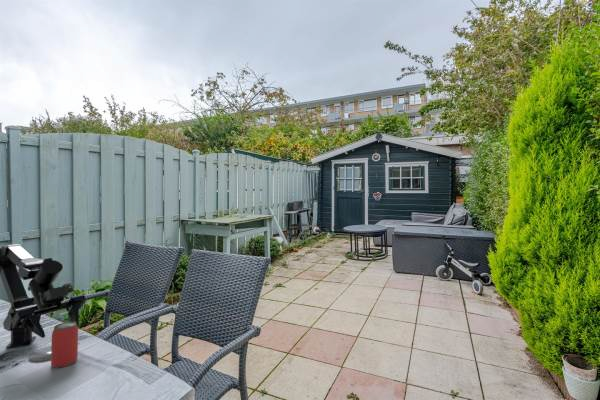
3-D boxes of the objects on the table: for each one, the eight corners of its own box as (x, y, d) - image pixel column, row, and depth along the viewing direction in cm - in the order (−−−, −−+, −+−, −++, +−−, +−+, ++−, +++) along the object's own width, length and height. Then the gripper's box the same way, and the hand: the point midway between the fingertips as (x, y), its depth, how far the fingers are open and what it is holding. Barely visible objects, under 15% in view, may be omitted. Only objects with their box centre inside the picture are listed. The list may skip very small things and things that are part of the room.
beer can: (62, 369, 90) (63, 330, 90) (45, 367, 91) (46, 328, 91) (82, 358, 96) (83, 321, 97) (66, 356, 98) (67, 320, 98)
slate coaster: (34, 350, 101) (34, 348, 101) (70, 344, 106) (70, 342, 106) (23, 364, 92) (23, 362, 92) (63, 357, 97) (63, 355, 97)
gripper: (16, 284, 89) (34, 327, 84) (84, 271, 106) (102, 307, 101) (4, 306, 92) (20, 349, 87) (71, 290, 109) (88, 326, 104)
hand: (61, 331), depth 95 cm, fingers open, 9 cm apart
